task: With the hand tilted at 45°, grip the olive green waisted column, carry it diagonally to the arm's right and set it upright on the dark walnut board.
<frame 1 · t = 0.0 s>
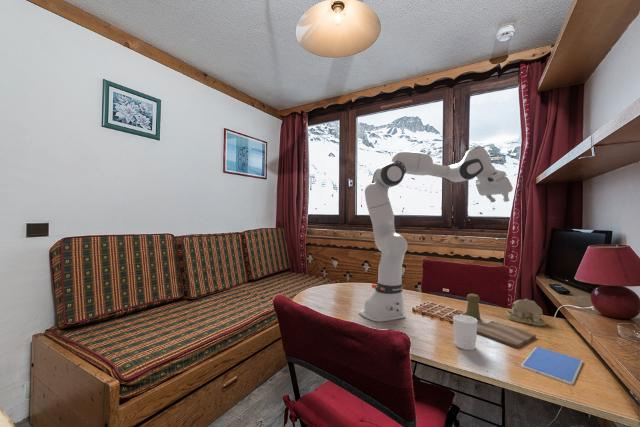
hand: (500, 201, 139), 54 cm above the table, tool tilted 30°, fingers open, 8 cm apart
walnut board: (503, 334, 111), on the table
tablet computer: (552, 366, 90), on the table
white cup: (464, 346, 102), on the table
ceramic model: (525, 321, 126), on the table
olive green waisted column: (473, 318, 129), on the table
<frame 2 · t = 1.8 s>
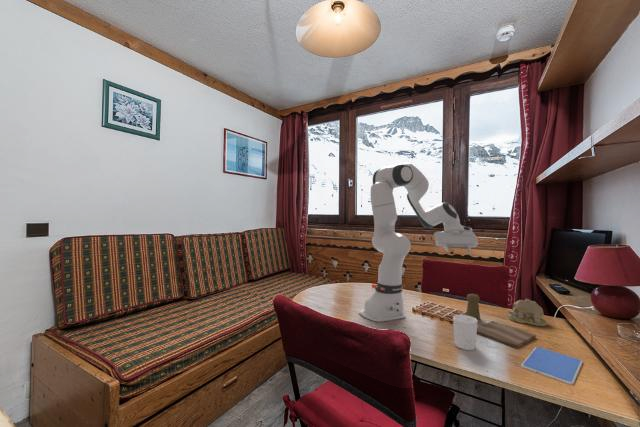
hand: (458, 252, 142), 28 cm above the table, tool tilted 45°, fingers open, 8 cm apart
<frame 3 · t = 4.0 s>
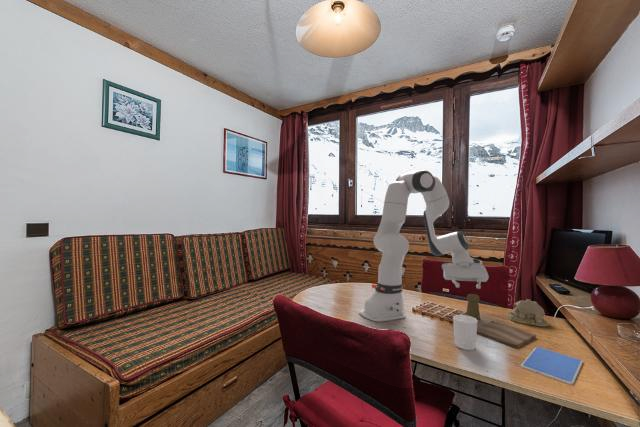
hand: (468, 287, 136), 12 cm above the table, tool tilted 45°, fingers open, 8 cm apart
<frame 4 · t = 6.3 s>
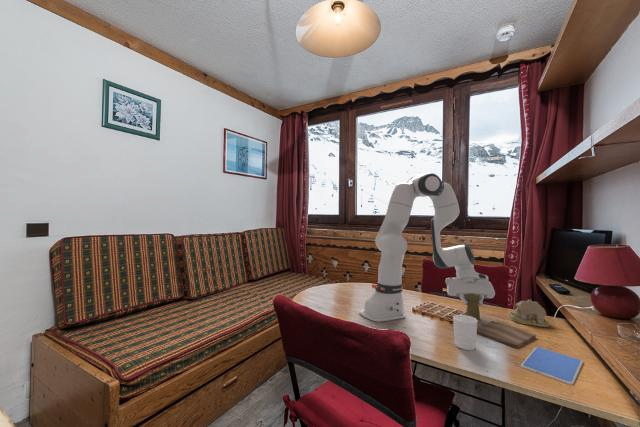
hand: (473, 304, 128), 6 cm above the table, tool tilted 45°, fingers closed on olive green waisted column, 5 cm apart
olive green waisted column: (473, 318, 129), on the table, touching gripper
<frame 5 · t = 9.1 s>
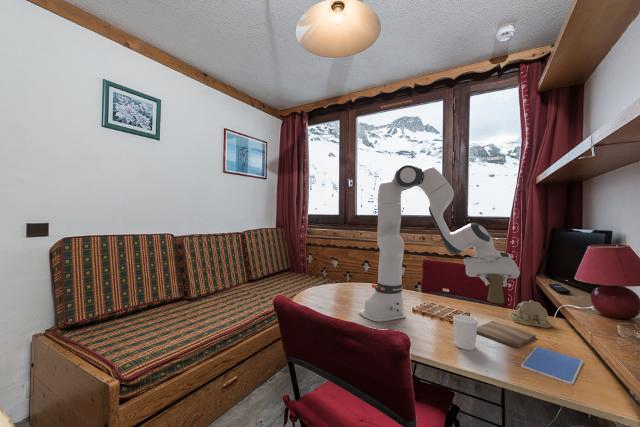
hand: (496, 285, 116), 19 cm above the table, tool tilted 45°, fingers closed on olive green waisted column, 5 cm apart
olive green waisted column: (495, 301, 116), point 12 cm above the table, touching gripper
when the fingers open (9 cm above the table, at t = 11.8 s): olive green waisted column stays where it is, resting on walnut board.
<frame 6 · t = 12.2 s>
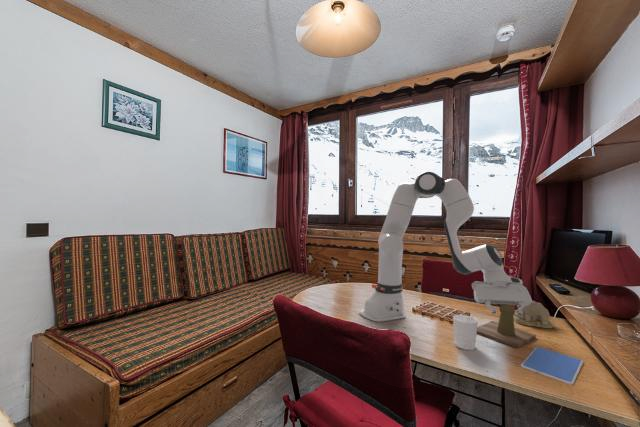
hand: (507, 313, 110), 9 cm above the table, tool tilted 45°, fingers open, 8 cm apart
olive green waisted column: (505, 332, 111), point 1 cm above the table, touching walnut board
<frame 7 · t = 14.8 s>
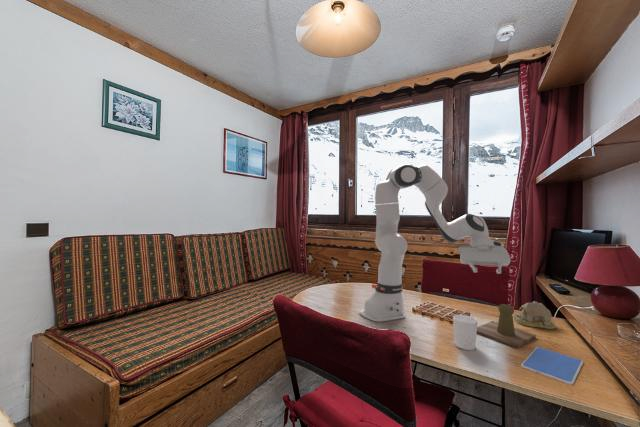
hand: (487, 272, 125), 22 cm above the table, tool tilted 40°, fingers open, 8 cm apart
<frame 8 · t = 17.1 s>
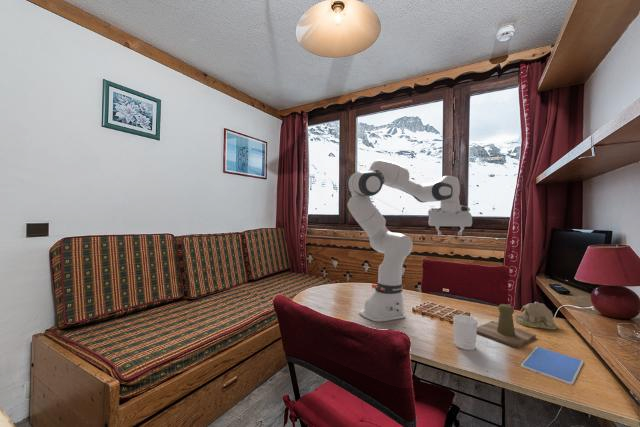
hand: (449, 235, 142), 37 cm above the table, tool pointing down, fingers open, 8 cm apart
at the end: olive green waisted column inside the target area on the walnut board (0.9 cm from its centre), point 1.0 cm above the walnut board's base; olive green waisted column tilted 0°; the gripper is holding nothing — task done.
